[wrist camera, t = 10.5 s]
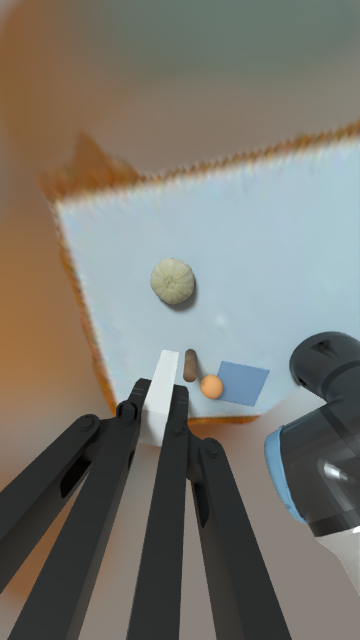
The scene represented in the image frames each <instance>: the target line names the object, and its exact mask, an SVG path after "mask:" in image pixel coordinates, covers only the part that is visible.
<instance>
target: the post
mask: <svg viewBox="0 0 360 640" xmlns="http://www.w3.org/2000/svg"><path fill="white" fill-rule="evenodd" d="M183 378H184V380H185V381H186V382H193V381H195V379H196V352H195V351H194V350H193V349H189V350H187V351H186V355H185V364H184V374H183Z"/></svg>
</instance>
